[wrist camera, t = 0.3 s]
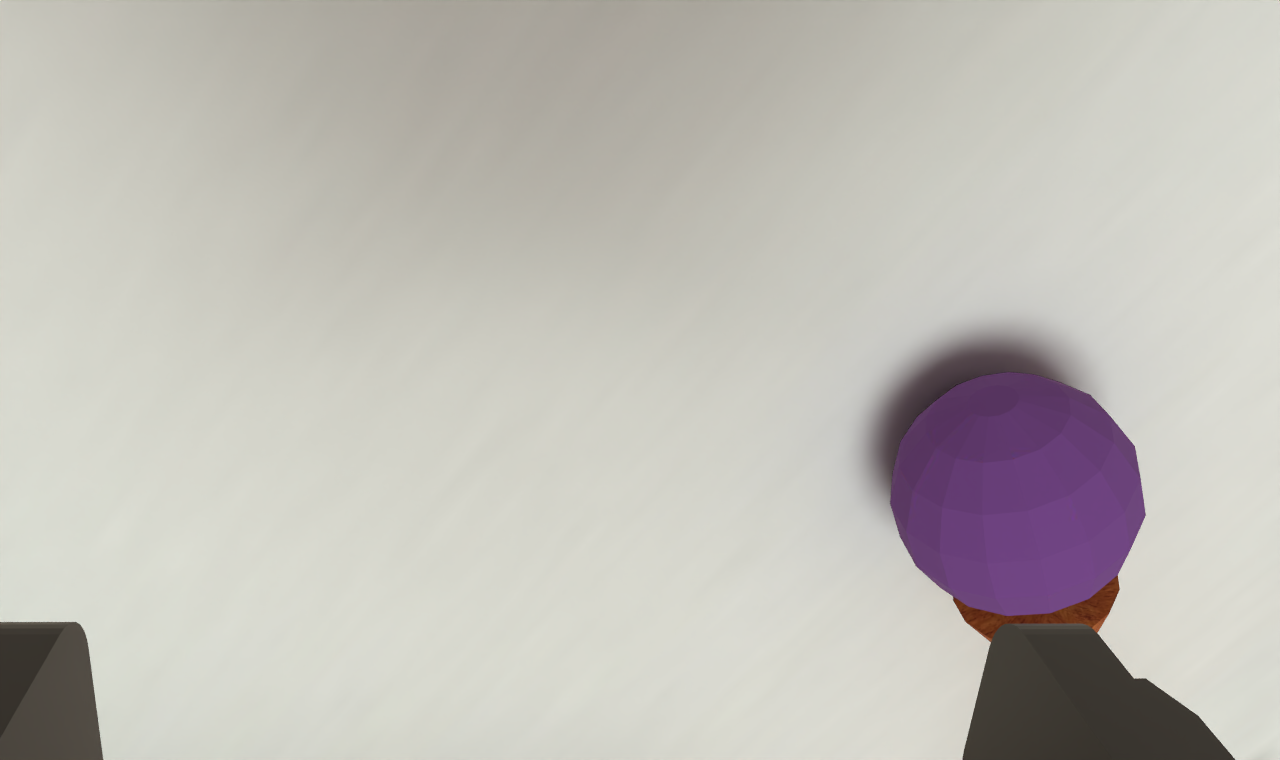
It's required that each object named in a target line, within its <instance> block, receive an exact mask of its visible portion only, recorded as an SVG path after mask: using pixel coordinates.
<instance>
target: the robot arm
mask: <svg viewBox="0 0 1280 760" xmlns="http://www.w3.org/2000/svg"><path fill="white" fill-rule="evenodd" d="M0 760H103V755H102V748H101V740H100V732H99V725H98V717H97V710H96V702H95V694H94V687H93V679H92V672H91V664H90V656H89V649H88V643H87V638H86V635H85V632H84V630H83V628H82V627H81V625H80V624H78V623H76V622H0ZM963 760H1235V759H1234V758H1233V756H1232V755H1231V754H1230V753H1229V752H1228V751H1227V749H1226V748H1225V747H1224V746H1223V745H1222V743H1221V742H1220V741H1219V740H1218V739H1217V738H1216V736H1215V735H1214V734H1213V733H1212V732H1211V730H1210V729H1209V728H1208V727H1207V726H1206V725H1205V723H1204V722H1203V721H1202V720H1201V719H1200V717H1199V716H1198V715H1196V714H1195V713H1193V712H1192V711H1190V710H1189V709H1188V708H1186V707H1185V706H1183V705H1182V704H1181V703H1179V702H1178V701H1176V700H1175V699H1174V698H1172V697H1171V696H1169V695H1168V694H1167V693H1165V692H1164V691H1162V690H1161V689H1160V688H1158V687H1157V686H1155V685H1154V684H1153V683H1151V682H1150V681H1148V680H1147V679H1134V678H1133V677H1132V676H1131V675H1130V673H1129V672H1128V671H1127V670H1126V668H1125V667H1124V666H1123V665H1122V663H1121V662H1120V661H1119V660H1118V658H1117V657H1116V656H1115V655H1114V653H1113V652H1112V651H1111V650H1110V648H1109V647H1108V646H1107V645H1106V644H1105V642H1104V641H1103V640H1102V639H1101V637H1100V636H1099V635H1098V634H1097V633H1096V632H1095V631H1094V629H1092V628H1091V627H1089V626H1088V625H1085V624H1004V625H1002V626H1001V627H999V628H998V630H997V631H996V632H995V634H994V636H993V638H992V641H991V644H990V648H989V652H988V656H987V660H986V664H985V668H984V672H983V676H982V680H981V684H980V688H979V692H978V696H977V700H976V704H975V708H974V712H973V716H972V720H971V724H970V729H969V733H968V737H967V741H966V745H965V749H964V754H963Z"/></svg>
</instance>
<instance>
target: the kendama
mask: <svg viewBox="0 0 1280 760" xmlns="http://www.w3.org/2000/svg"><path fill="white" fill-rule="evenodd" d="M890 504H891V508H892V511H893V514H894V518H895V521H896V524H897V528H898V531H899V534H900V537H901V539H902V541H903V543H904V545H905V546H906V548H907V550H908V552H909V554H910V556H911V557H912V559H913V561H914V563H915V565H916V566H917V567H918V568H919V569H920V570H921V571H922V572H923V573H925V574H926V575H927V576H928V577H929V578H930V579H931V580H932V581H933V582H935V583H936V584H937V585H938V586H939V587H940V588H942V589H943V590H945V591H946V592H947V593H949V594H950V595H952V596H953V601H954V602H955V604H956V606H957V608H958V609H959V611H960V613H961V615H962V616H963V618H964V620H965V622H967V623H968V624H969V625H970V626H972V627H973V628H974V629H975V630H976V631H978V632H979V633H980V634H981V635H983V636H984V637H985V638H986V639H988V640H989V641H990V642H991V641H992V638H993V636H994V634H995V632H996V631H997V630H998V628H999V627H1001V626H1002V625H1004V624H1085V625H1088V626H1089V627H1091V628H1092V629H1094V631H1095V632H1096V633H1097V632H1098V631H1099V629H1100V627H1101V626H1102V624H1103V622H1104V621H1105V619H1106V617H1107V616H1108V614H1109V612H1110V610H1111V608H1112V606H1113V603H1114V601H1115V599H1116V596H1117V594H1118V592H1119V590H1120V589H1119V581H1118V573H1119V571H1120V569H1121V567H1122V565H1123V563H1124V561H1125V559H1126V557H1127V555H1128V553H1129V551H1130V549H1131V547H1132V545H1133V543H1134V540H1135V538H1136V536H1137V534H1138V531H1139V529H1140V527H1141V525H1142V522H1143V520H1144V518H1145V516H1146V514H1145V507H1144V500H1143V493H1142V486H1141V479H1140V473H1139V467H1138V462H1137V456H1136V450H1135V446H1134V445H1133V444H1132V442H1131V441H1130V440H1129V439H1128V437H1127V436H1126V435H1125V434H1124V433H1123V431H1122V430H1121V429H1120V428H1119V427H1118V425H1117V424H1116V423H1115V422H1114V420H1113V419H1112V418H1111V417H1110V416H1109V415H1108V413H1107V412H1106V411H1105V410H1104V409H1103V408H1102V407H1101V406H1100V405H1099V404H1098V403H1097V402H1096V401H1095V400H1094V399H1093V398H1092V397H1091V395H1089V394H1087V393H1084V392H1082V391H1079V390H1077V389H1075V388H1072V387H1070V386H1067V385H1065V384H1063V383H1060V382H1058V381H1054V380H1051V379H1048V378H1044V377H1041V376H1038V375H1034V374H1024V373H1014V372H1005V373H998V374H991V375H984V376H980V377H977V378H974V379H972V380H969V381H966V382H964V383H961V384H959V385H956V386H955V387H953V388H952V389H951V390H949V391H948V392H947V393H945V394H944V395H942V396H941V397H940V398H938V399H937V400H936V401H935V402H934V403H932V404H931V405H930V406H929V407H928V408H927V409H925V410H924V411H923V412H922V413H921V414H920V415H918V416H917V417H916V419H915V420H914V422H913V423H912V425H911V426H910V428H909V429H908V431H907V432H906V434H905V435H904V437H903V438H902V440H901V442H900V446H899V450H898V454H897V458H896V462H895V465H894V469H893V474H892V488H891V501H890Z"/></svg>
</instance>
